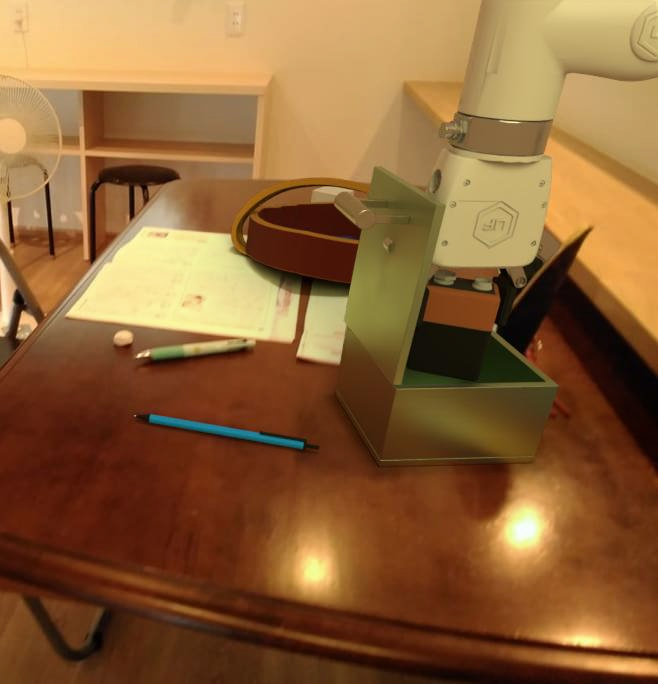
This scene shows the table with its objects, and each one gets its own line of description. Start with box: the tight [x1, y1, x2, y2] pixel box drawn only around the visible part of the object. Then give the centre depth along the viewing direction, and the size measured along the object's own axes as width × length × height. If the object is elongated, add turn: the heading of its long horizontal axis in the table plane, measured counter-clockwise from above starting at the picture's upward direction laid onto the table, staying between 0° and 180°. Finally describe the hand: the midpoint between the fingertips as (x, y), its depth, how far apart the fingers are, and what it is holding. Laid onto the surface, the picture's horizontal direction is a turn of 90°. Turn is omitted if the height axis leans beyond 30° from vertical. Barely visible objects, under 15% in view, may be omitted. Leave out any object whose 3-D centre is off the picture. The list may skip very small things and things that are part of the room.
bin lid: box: [334, 165, 446, 384], centre depth 64 cm, size 17×14×6 cm
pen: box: [133, 413, 320, 451], centre depth 70 cm, size 1×19×1 cm, turn 74°
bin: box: [334, 324, 560, 468], centre depth 71 cm, size 16×14×9 cm
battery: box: [406, 269, 500, 381], centre depth 67 cm, size 4×7×10 cm, turn 69°
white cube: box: [310, 186, 355, 202], centre depth 138 cm, size 6×6×6 cm
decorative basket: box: [230, 176, 370, 284], centre depth 112 cm, size 34×29×15 cm
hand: (452, 319), depth 67 cm, fingers closed on battery, 7 cm apart
